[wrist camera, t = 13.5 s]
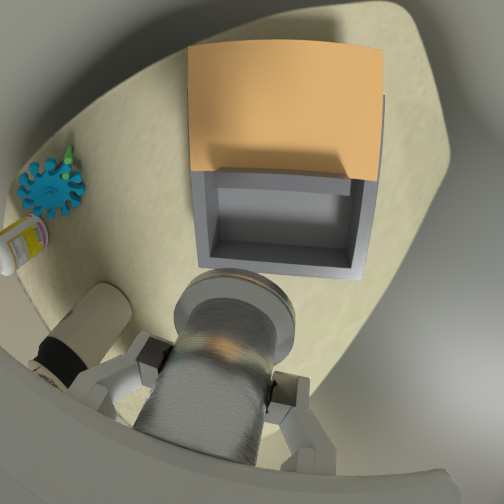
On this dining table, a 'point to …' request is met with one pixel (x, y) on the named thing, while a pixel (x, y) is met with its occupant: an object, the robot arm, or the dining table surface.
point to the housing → (284, 228)
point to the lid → (285, 114)
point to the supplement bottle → (21, 243)
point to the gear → (51, 186)
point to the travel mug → (82, 336)
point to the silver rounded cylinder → (220, 365)
